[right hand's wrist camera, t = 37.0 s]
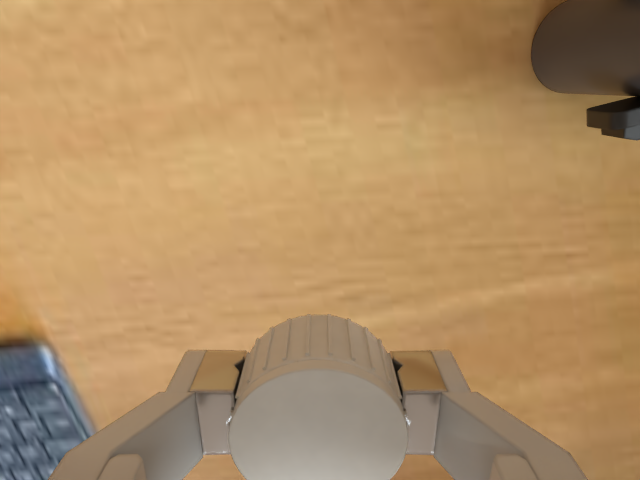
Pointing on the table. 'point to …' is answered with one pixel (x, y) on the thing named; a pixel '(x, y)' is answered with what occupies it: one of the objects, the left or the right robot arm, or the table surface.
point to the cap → (318, 405)
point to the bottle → (590, 48)
